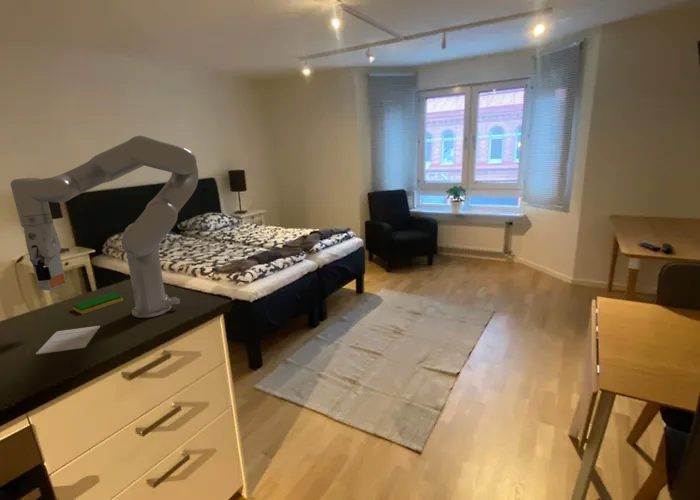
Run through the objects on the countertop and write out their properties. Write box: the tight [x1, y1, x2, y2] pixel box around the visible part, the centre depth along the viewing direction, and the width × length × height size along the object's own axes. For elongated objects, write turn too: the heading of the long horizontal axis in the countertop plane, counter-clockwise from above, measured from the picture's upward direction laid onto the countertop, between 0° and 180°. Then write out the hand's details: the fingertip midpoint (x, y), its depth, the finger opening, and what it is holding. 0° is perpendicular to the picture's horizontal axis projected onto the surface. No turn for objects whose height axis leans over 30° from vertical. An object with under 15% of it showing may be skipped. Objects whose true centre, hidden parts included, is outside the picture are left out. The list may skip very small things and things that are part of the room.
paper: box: [35, 325, 101, 356], centre depth 114 cm, size 12×14×1 cm
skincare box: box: [32, 248, 67, 291], centre depth 117 cm, size 6×4×12 cm
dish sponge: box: [72, 292, 123, 315], centre depth 139 cm, size 7×14×2 cm, turn 147°
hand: (50, 275), depth 118 cm, fingers closed on skincare box, 7 cm apart
